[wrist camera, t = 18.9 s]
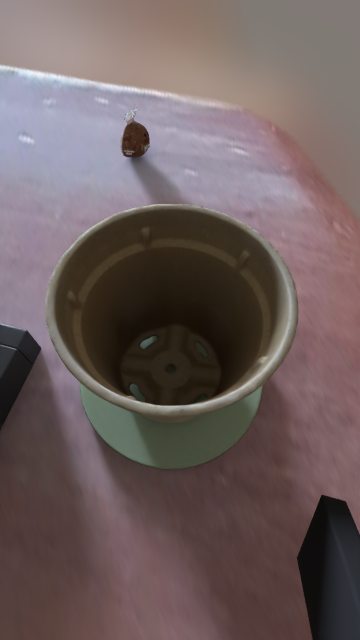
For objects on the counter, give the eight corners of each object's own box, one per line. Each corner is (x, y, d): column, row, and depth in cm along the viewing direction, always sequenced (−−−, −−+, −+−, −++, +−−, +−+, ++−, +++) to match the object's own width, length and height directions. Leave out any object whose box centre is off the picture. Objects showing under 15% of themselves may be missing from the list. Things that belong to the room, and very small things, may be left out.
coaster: (127, 511, 17) (125, 511, 16) (56, 339, 22) (54, 335, 21) (297, 409, 20) (300, 406, 19) (203, 275, 24) (203, 270, 24)
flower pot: (146, 282, 23) (135, 175, 16) (272, 343, 21) (330, 253, 14) (59, 399, 19) (-13, 330, 11) (206, 489, 17) (236, 476, 9)
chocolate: (138, 169, 30) (134, 125, 26) (118, 161, 30) (111, 116, 27) (156, 152, 31) (154, 107, 28) (136, 144, 32) (132, 99, 28)
